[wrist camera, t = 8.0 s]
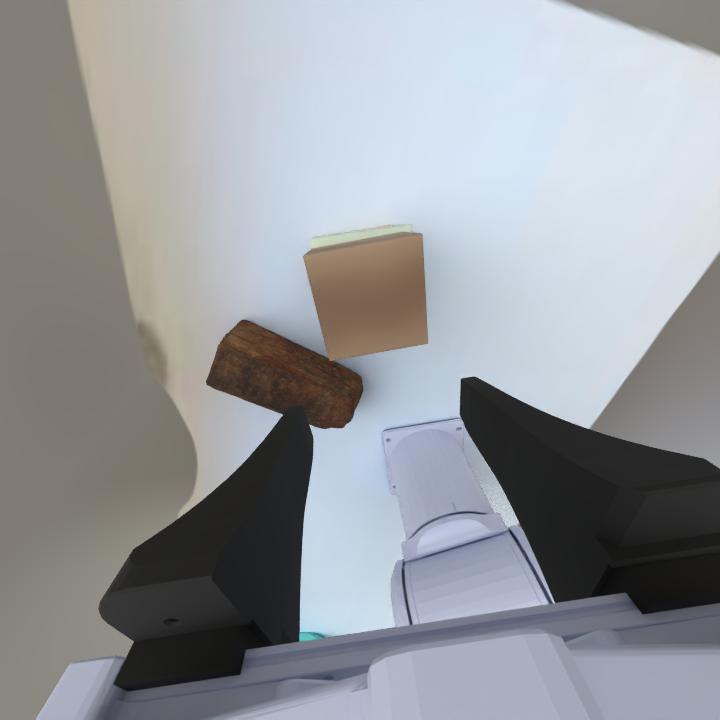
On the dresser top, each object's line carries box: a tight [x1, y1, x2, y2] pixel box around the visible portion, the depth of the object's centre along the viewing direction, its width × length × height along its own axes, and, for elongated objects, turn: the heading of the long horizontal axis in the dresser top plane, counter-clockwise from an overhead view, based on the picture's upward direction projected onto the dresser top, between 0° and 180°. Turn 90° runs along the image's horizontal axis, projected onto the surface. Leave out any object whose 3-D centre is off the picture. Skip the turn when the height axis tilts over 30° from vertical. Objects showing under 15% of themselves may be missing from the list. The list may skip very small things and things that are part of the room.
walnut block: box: [303, 232, 428, 361], centre depth 12 cm, size 4×4×4 cm
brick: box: [206, 320, 363, 429], centre depth 21 cm, size 11×4×5 cm, turn 60°
